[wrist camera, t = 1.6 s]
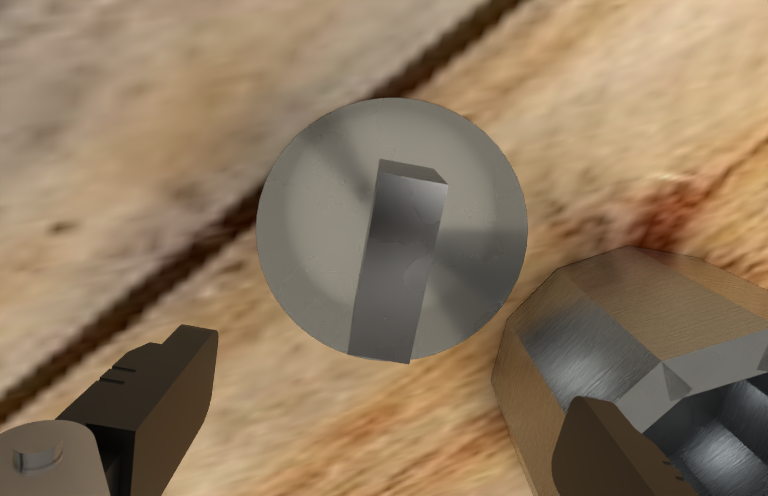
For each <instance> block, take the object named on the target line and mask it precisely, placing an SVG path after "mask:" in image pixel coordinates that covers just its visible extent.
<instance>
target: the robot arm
mask: <svg viewBox="0 0 768 496" xmlns="http://www.w3.org/2000/svg"><path fill="white" fill-rule="evenodd" d="M217 348H218V332H217V330H211V329H206V328H200V327H194V326H189V325H180V326H179V327H178V328H177V329H176V330H175V331H174V332H173V333H172V334H171V335H170V336H169V337H168V338H167V339H166V341H165V342H164V343H163V344H157V343H151V342H150V343H147V344H145V345H143V346H141V347H138V348H136V349H134V350H131V351H129V352H127V353H126V354H125V355H124V356H123V357H122V358H121V359H120V360H118V361H117V362H116V363H115V364H114V365H113V366H112V369H109V370H108V371H107V372H105V373H104V374H103V375H102V376H101V377H100V380H99V381H96V382H95V383H93V384H92V385H91V386H90V387H89V388H88V389H87V390H86V391H85V392H84V393H83V394H82V395H80V396H79V397H78V398H77V399H76V400H75V401H74V402H73V403H72V404H71V405H70V406H69V407H67V408H66V409H65V410H64V411H63V412H62V413H61V414H60V415H59V416H58V417H57V418H56V419H54V420H44V421H37V422H32V423H27V424H24V425H20V426H17V427H14V428H12V429H10V430H7V431H5V432H3V433H1V434H0V496H161V495H162V493H163V491H164V490H165V488H166V486H167V485H168V483H169V481H170V479H171V478H172V476H173V474H174V473H175V471H176V469H177V467H178V466H179V464H180V462H181V460H182V459H183V457H184V455H185V454H186V452H187V450H188V448H189V447H190V445H191V443H192V442H193V440H194V438H195V436H196V435H197V433H198V431H199V429H200V428H201V426H202V424H203V422H204V420H205V417H206V415H207V412H208V409H209V405H210V401H211V396H212V388H213V380H214V372H215V364H216V356H217ZM551 470H552V478H553V482H554V484H555V487H556V489H557V491H558V493H559V495H560V496H699V495H698V493H697V492H696V491H695V490H694V489H693V487H692V486H691V485H690V484H689V483H688V482H686V481H684V477H683V476H682V475H681V473H680V472H679V471H678V470H677V469H676V468H675V466H671V462H670V460H669V459H668V458H667V457H666V456H665V455H664V453H663V452H662V451H661V450H660V449H659V448H658V446H657V445H656V444H655V443H653V442H652V441H651V440H649V439H648V438H647V437H645V436H644V435H643V434H641V433H640V432H639V431H638V430H636V429H635V428H634V427H633V425H632V424H631V423H630V422H629V421H628V419H627V418H626V417H625V416H624V415H623V413H622V412H621V411H620V410H619V409H618V407H617V406H616V405H615V404H614V403H613V402H611V401H606V400H601V399H595V398H589V397H584V396H576V397H574V398H573V399H572V401H571V403H570V405H569V407H568V410H567V413H566V416H565V419H564V422H563V425H562V428H561V431H560V434H559V437H558V440H557V443H556V446H555V449H554V452H553V456H552V463H551Z"/></svg>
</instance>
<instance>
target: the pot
mask: <svg viewBox="0 0 768 496" xmlns="http://www.w3.org/2000/svg"><path fill="white" fill-rule="evenodd" d="M491 382H492V385H493V388H494V391H495V394H496V397H497V400H498V403H499V406H500V409H501V412H502V415H503V418H504V421H505V424H506V427H507V430H508V433H509V436H510V438H511V441H512V443H513V446H514V448H515V451H516V453H517V456H518V458H519V461H520V463H521V466H522V468H523V471H524V473H525V476H526V478H527V481H528V483H529V486H530V488H531V491H532V493H533V496H560V495H559V493H558V491H557V489H556V487H555V484H554V482H553V478H552V470H551V463H552V456H553V452H554V449H555V446H556V443H557V440H558V437H559V434H560V431H561V428H562V425H563V422H564V419H565V416H566V413H567V410H568V407H569V405H570V403H571V401H572V399H573V398H574V397H576V396H584V397H589V398H595V399H601V400H606V401H611V402H613V403H614V404H615V405H616V406H617V407H618V409H619V410H620V411H621V412H622V413H623V415H624V416H625V417H626V418H627V419H628V421H629V422H630V423H631V424H632V425H633V427H634V428H635V429H636V430H638V431H639V432H640V433H641V434H643V435H644V436H645V437H647V438H648V439H649V440H651V441H652V442H653V443H655V444H656V445H657V446H658V448H659V449H660V450H661V451H662V452H663V453H664V455H665V456H666V457H667V458H668V459H669V460H670V462H671V466H675V468H676V469H677V470H678V471H679V472H680V473H681V475H682V476H683V477H684V481H686V482H688V483H689V484H690V485H691V486H692V487H693V489H694V490H695V491H696V492H697V493H698V495H699V496H768V290H766V289H764V288H761V287H759V286H757V285H755V284H753V283H751V282H749V281H746V280H744V279H742V278H740V277H738V276H736V275H733V274H731V273H729V272H727V271H725V270H723V269H721V268H718V267H716V266H714V265H712V264H710V263H708V262H706V261H703V260H701V259H699V258H697V257H691V256H685V255H680V254H674V253H669V252H663V251H657V250H652V249H646V248H640V247H635V246H629V245H628V246H625V247H622V248H619V249H616V250H613V251H609V252H606V253H603V254H600V255H597V256H594V257H591V258H588V259H585V260H582V261H579V262H576V263H573V264H570V265H567V266H564V267H561V268H558V269H557V270H556V271H555V272H554V273H553V274H552V275H551V276H550V277H549V278H548V279H547V280H546V281H545V282H544V283H543V284H542V285H541V286H540V287H539V288H538V289H537V290H536V291H535V292H534V293H533V294H532V295H531V296H530V297H529V298H528V299H527V300H526V301H525V302H524V303H523V304H522V305H521V306H520V307H519V308H518V309H517V310H516V311H515V312H514V313H513V314H512V315H511V316H510V317H509V318H508V319H507V323H506V326H505V330H504V334H503V337H502V341H501V345H500V348H499V352H498V356H497V359H496V363H495V367H494V370H493V374H492V378H491Z"/></svg>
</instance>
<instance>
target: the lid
mask: <svg viewBox="0 0 768 496" xmlns="http://www.w3.org/2000/svg"><path fill="white" fill-rule="evenodd" d="M527 234H528V223H527V210H526V206H525V201H524V196H523V192H522V190H521V187H520V184H519V181H518V178H517V176H516V174H515V172H514V170H513V168H512V167H511V165H510V163H509V161H508V160H507V158H506V157H505V155H504V154H503V153H502V151H501V150H500V148H499V147H498V146H497V145H496V144H495V143H494V142H493V141H492V140H491V139H490V137H489V136H488V135H487V134H486V133H484V132H483V131H482V130H481V129H479V128H478V127H477V126H476V125H474V124H473V123H472V122H471V121H469V120H467V119H465V118H464V117H462V116H460V115H459V114H457V113H455V112H453V111H451V110H448V109H446V108H443V107H441V106H439V105H436V104H432V103H428V102H424V101H420V100H414V99H405V98H379V99H372V100H366V101H361V102H357V103H354V104H351V105H347V106H344V107H342V108H339V109H337V110H335V111H333V112H331V113H328V114H326V115H325V116H323V117H321V118H320V119H318V120H317V121H315V122H314V123H312V124H310V125H309V126H308V127H307V128H306V129H304V130H303V131H302V132H301V133H300V134H299V135H297V136H296V137H295V138H294V139H293V141H292V142H291V143H290V144H289V145H288V146H287V147H286V148H285V149H284V151H283V152H282V154H281V155H280V157H279V158H278V160H277V161H276V162H275V164H274V165H273V167H272V169H271V172H270V174H269V176H268V178H267V180H266V182H265V185H264V188H263V191H262V194H261V197H260V201H259V206H258V212H257V221H256V239H257V250H258V255H259V259H260V263H261V268H262V270H263V273H264V276H265V278H266V281H267V283H268V285H269V287H270V289H271V291H272V293H273V295H274V297H275V298H276V300H277V301H278V302H279V304H280V305H281V307H282V308H283V309H284V311H285V312H286V313H287V314H288V315H289V316H290V318H291V319H292V320H293V321H294V322H295V323H296V324H297V325H298V326H300V327H301V328H302V329H303V330H304V331H305V332H307V333H308V334H309V335H311V336H312V337H314V338H315V339H317V340H318V341H320V342H321V343H323V344H325V345H327V346H329V347H331V348H333V349H335V350H337V351H340V352H343V353H346V354H348V355H352V356H355V357H360V358H364V359H369V360H379V361H392V362H398V363H404V364H409V363H410V360H412V359H419V358H422V357H426V356H430V355H434V354H437V353H439V352H442V351H444V350H447V349H449V348H451V347H453V346H455V345H457V344H459V343H461V342H463V341H464V340H466V339H467V338H469V337H470V336H471V335H473V334H474V333H476V332H477V331H478V330H480V329H481V328H482V327H483V326H484V325H485V324H486V323H487V322H488V321H490V319H491V318H492V317H493V316H494V315H495V314H496V313H497V311H498V310H499V309H500V308H501V307H502V305H503V304H504V302H505V301H506V299H507V298H508V296H509V295H510V293H511V291H512V289H513V287H514V285H515V283H516V281H517V279H518V276H519V273H520V271H521V268H522V265H523V261H524V257H525V252H526V247H527Z"/></svg>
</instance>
